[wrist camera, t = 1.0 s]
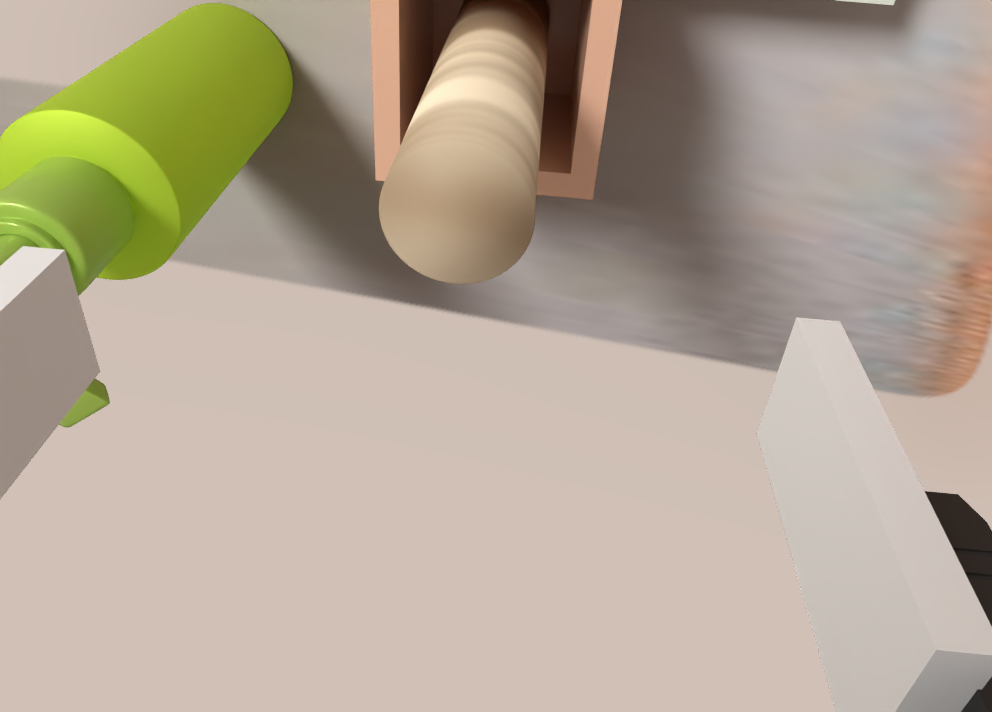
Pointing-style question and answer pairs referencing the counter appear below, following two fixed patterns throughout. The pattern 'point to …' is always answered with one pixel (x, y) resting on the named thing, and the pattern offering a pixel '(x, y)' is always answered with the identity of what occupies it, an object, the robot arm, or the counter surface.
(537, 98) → the dowel
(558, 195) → the pot
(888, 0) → the tray
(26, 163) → the soap dispenser
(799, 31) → the counter surface
